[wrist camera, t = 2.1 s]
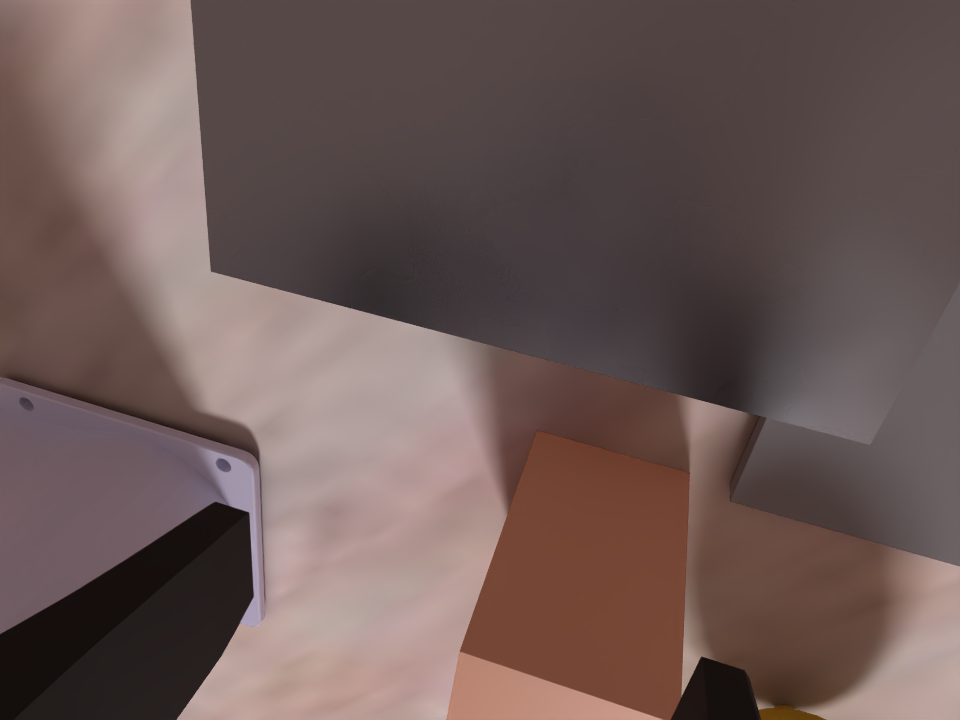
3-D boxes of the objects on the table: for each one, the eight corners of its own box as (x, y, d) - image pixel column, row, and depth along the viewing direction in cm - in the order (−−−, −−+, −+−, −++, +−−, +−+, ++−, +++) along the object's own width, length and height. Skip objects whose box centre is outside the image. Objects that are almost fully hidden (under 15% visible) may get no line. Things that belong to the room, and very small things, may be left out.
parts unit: (383, 162, 16) (200, 290, 10) (402, -139, 13) (159, -197, 7) (810, 259, 15) (874, 470, 9) (943, -56, 12) (1169, -44, 6)
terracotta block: (512, 537, 21) (436, 768, 15) (536, 430, 19) (459, 651, 13) (648, 578, 20) (623, 836, 15) (690, 472, 18) (679, 725, 12)
